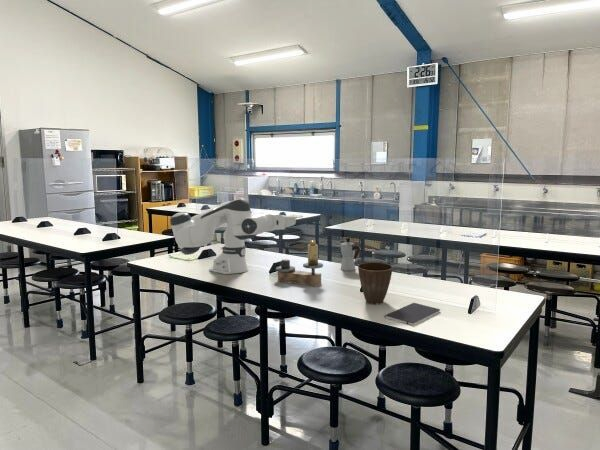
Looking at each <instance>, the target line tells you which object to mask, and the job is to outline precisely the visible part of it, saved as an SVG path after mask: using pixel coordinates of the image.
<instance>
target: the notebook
mask: <svg viewBox="0 0 600 450" xmlns="http://www.w3.org/2000/svg"><path fill="white" fill-rule="evenodd" d="M440 311H441V309H440V308H436V307H432V306H429V305H425V304H421V303H420V304H419V303H417V302H412V303H410V304H407V305H405V306H403V307H400V308H398V309H396V310H394V311H391V312H389V313H387V314H385V315H384V318H385V319H389V320H391V321H392V320H393V321H396V322H400V323H403V324H406V325H411V326H415V325H417V324H419V323H421V322H423V321H424V320H427V319H428V318H431V317H432V316H435V315H437V314H439V313H440Z"/></svg>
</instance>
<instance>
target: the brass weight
mask: <svg viewBox="0 0 600 450" xmlns="http://www.w3.org/2000/svg"><path fill="white" fill-rule="evenodd" d="M316 242H317V241H316V240H314V239H313V240H309V244H307V263H308V265H310V266H316V265H318V263H319V245H318V244H317V243H316Z"/></svg>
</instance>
